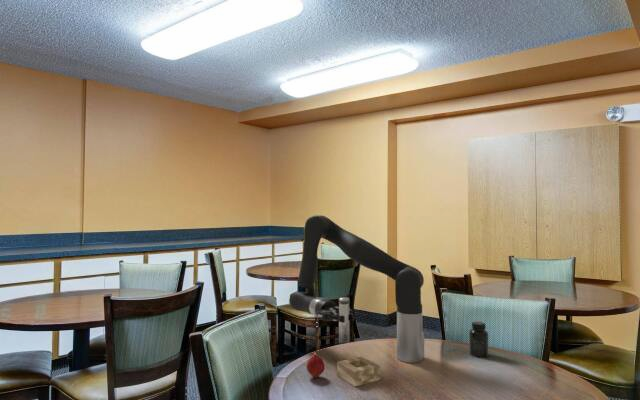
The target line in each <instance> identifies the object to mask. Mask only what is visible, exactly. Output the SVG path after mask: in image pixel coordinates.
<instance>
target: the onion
mask: <svg viewBox="0 0 640 400" xmlns="http://www.w3.org/2000/svg"><path fill="white" fill-rule="evenodd" d="M325 366H326V365H325V362H324V360H323V359H322V357H321V356H319V355H318V353H316V352H313V355H312V356H311V357H309V359H308V360H307V363H306V370H307V372H308V373H309V375H311V376H312V378H314V379H316V378H318V377H320V376H321V375H322V374H323V373H324V371H325Z"/></svg>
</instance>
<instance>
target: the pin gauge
mask: <svg viewBox="0 0 640 400" xmlns="http://www.w3.org/2000/svg"><path fill="white" fill-rule="evenodd" d="M350 303H351V302H350V298H349V297H346V296H345V297H339V298H338V307H339V314H340V315H342V316H344V317H345V322H344V323H342V322H339V321H338V342H339V344H348V343H350V320H349V308H350Z"/></svg>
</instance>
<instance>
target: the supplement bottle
mask: <svg viewBox="0 0 640 400" xmlns="http://www.w3.org/2000/svg"><path fill="white" fill-rule="evenodd" d="M486 328H487V327H486V323H485V322H482V321H472V322H471V328H470V330H469V332H468V338H469V339H468V341H469V342H468V346H469V347H468V349H469V350H468V353H469V355H470V356H472V357H474V356H475V357H474V358H480V357H484V358H487V357H489V332H488V331H487V330H486Z"/></svg>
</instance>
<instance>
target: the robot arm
mask: <svg viewBox="0 0 640 400" xmlns="http://www.w3.org/2000/svg"><path fill="white" fill-rule="evenodd" d="M304 223H305V224H304V230H303V231H304V234H303V235H304V236H303V247H302V248H303V250H302V259H301V264H300V269H299V274H298V279H297V285H298V287H299V286H300V288H301V287H302V288H303V289H305V291H303V292H302V291H295V292H294V291H293V293H291V294H290V296H289V299H288V302H289V305H290V307H291V309H293V310H295V311H298V312H303V313H307V314H310V315H312V316H314V317H315V318H317V319H318V320H321V321H324V322H333V321H334V322H338V323H339V322H342V323H344V322H345V317H344V316H342V315H340V314H339V306H338V305H337V304H336V302H334V301H333V300H330V299H326V298H323V297H320V296H319V297H318V296H316V294H315V293H316V292H315V289H316V287H315V284H316V279H317V273H318V267H319V266H318V265H319V264H318V249H319V245H320V242H321V239H324V240H325V241H326V240H327V241H328V242H330V243H332V244H333V245H335V246H336V247H337V248H339V249H340V250H341V251H342V252H343V253H344V254H345V256H346V257H348V258H349V259H350V260H352V261H354V262H355V263H357V264H359V265H360V266H362V267H363V268H366V269H369V270H372V271H375V272H378V273H381V274H384V275H385V276H388V277H389V278H390V279H392V280H393V281H395V282H394V284H395V285H394V287H395V288H394V289H395V292H394V293H395V294H394V295H395V305H396V359H397V360H399V361H401V362H404V363H419V362H422V361H423V359H425V332H424V331H423V304H422V291H421V289H422V287H423V286H424V282H425V278H424V276H423V273H422V272H421V271H420V270H419V269H418V268H416V267H413V266H412V265H409V264H406V263H404V262H402V261H401V260H399V259H396V258H394V257H392V256H391V255H390V254H388V253H387V252H385V251H384V250H383V249H380V248H379V247H377V246H376V245H374V244H373V243H371V242H369V241H367V240H366V239H364V238H362V237H361V236H360V237H359V236H358V235H356V234H354V233H352V232H350V231H348V230H345V229H344V228H342V226H340V225H338V224H337V223H335V221H333V220H331V219H330V218H329V217H327V216H325V215H311V216H309V217H308V218H307V219H306V221H305V222H304ZM349 321H352V322H355V321H356V316H355V314H354V312H353V309H351V308H350V307H349Z"/></svg>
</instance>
